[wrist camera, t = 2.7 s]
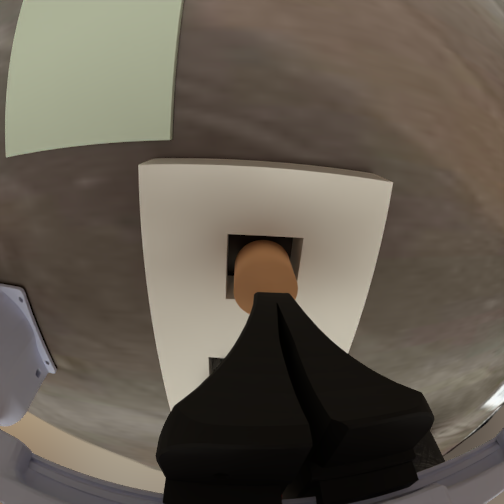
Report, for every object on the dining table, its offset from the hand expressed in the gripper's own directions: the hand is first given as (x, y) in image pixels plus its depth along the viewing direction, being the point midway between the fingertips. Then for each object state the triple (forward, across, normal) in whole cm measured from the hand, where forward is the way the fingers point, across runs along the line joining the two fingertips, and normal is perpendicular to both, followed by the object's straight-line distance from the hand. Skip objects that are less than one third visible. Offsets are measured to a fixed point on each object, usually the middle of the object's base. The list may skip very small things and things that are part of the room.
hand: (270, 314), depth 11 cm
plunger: (+4, 0, 0) cm, 4 cm away
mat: (+6, +11, -12) cm, 17 cm away
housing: (+6, 0, +4) cm, 8 cm away
